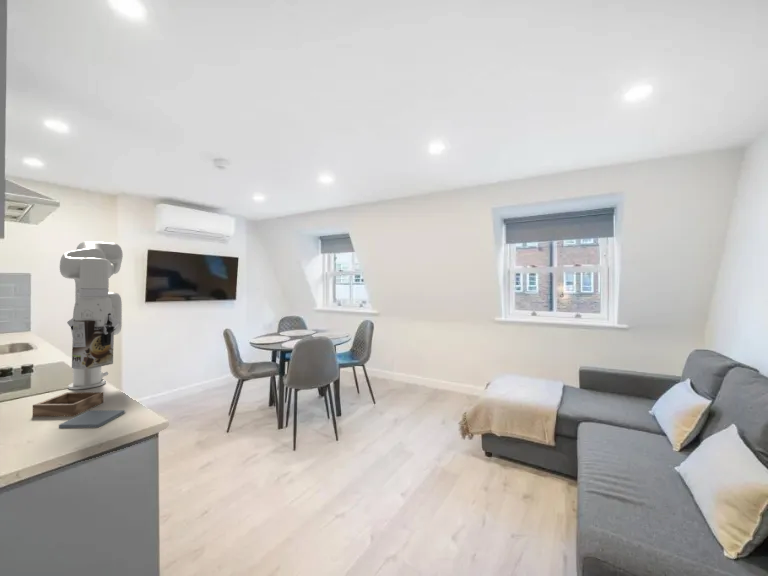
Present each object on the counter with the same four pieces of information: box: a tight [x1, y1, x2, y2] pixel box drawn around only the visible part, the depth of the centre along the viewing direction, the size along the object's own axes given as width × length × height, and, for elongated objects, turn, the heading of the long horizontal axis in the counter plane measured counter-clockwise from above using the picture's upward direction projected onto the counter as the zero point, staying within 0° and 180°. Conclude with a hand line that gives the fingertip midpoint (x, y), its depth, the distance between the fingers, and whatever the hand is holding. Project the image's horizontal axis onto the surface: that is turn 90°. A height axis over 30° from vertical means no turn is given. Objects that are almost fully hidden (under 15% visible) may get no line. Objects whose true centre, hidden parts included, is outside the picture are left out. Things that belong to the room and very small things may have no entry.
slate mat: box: [58, 409, 126, 429], centre depth 112 cm, size 12×12×1 cm
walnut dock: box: [32, 391, 104, 418], centre depth 121 cm, size 13×13×4 cm
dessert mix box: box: [71, 320, 115, 370], centre depth 112 cm, size 9×6×16 cm
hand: (93, 344), depth 112 cm, fingers closed on dessert mix box, 7 cm apart
